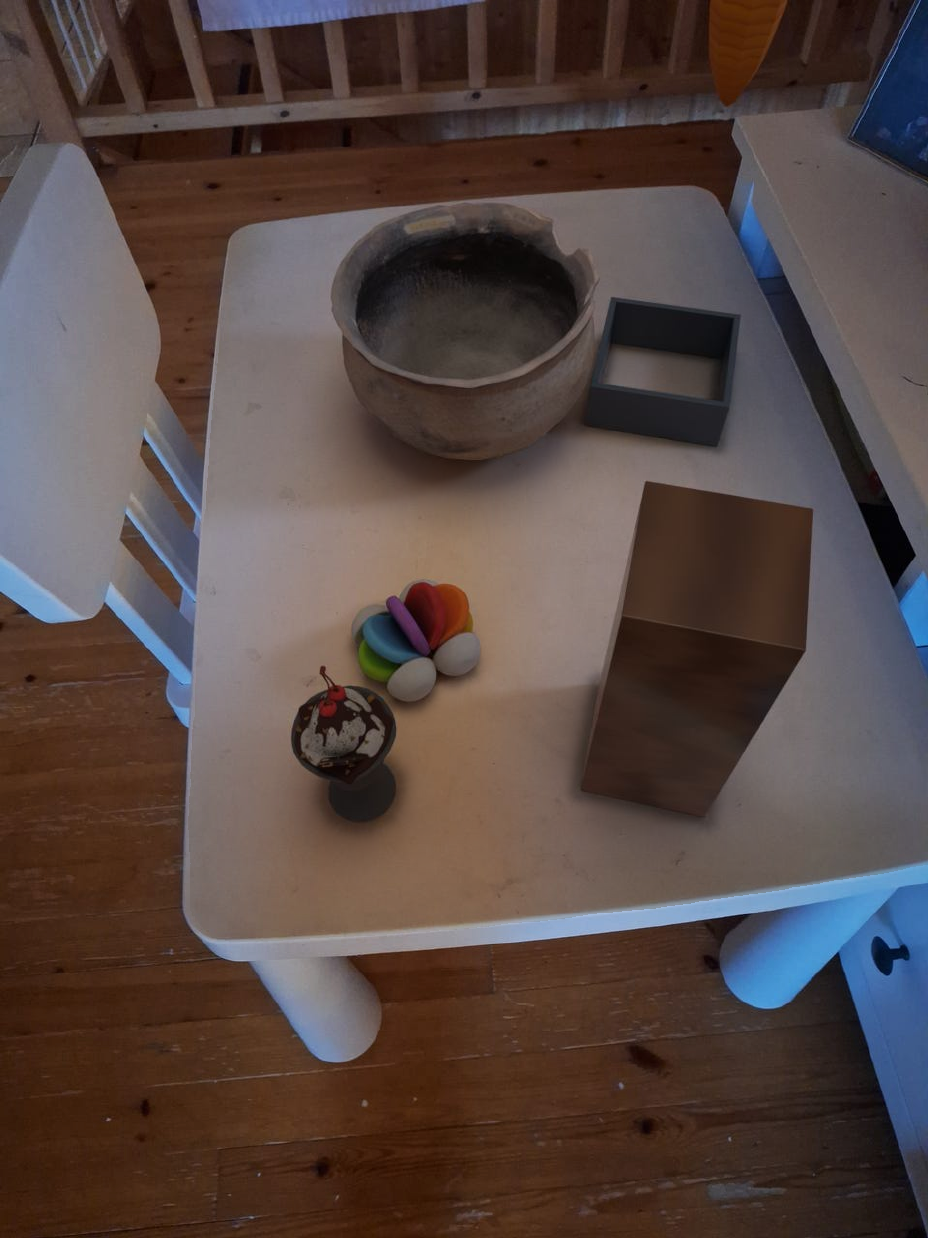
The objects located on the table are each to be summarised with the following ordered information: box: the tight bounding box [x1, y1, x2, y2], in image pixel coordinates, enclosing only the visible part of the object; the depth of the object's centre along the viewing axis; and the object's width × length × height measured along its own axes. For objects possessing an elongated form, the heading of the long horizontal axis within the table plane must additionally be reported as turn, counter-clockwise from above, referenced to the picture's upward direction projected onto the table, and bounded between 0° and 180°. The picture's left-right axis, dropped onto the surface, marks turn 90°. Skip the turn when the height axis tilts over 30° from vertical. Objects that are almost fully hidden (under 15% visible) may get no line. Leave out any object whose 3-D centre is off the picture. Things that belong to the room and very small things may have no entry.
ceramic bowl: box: [330, 202, 601, 461], centre depth 79 cm, size 22×22×15 cm
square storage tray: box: [584, 296, 742, 447], centre depth 84 cm, size 12×12×5 cm
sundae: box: [290, 665, 397, 823], centre depth 59 cm, size 7×7×15 cm
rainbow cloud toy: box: [350, 578, 481, 702], centre depth 69 cm, size 8×10×7 cm
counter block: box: [579, 480, 814, 818], centre depth 57 cm, size 9×9×24 cm
